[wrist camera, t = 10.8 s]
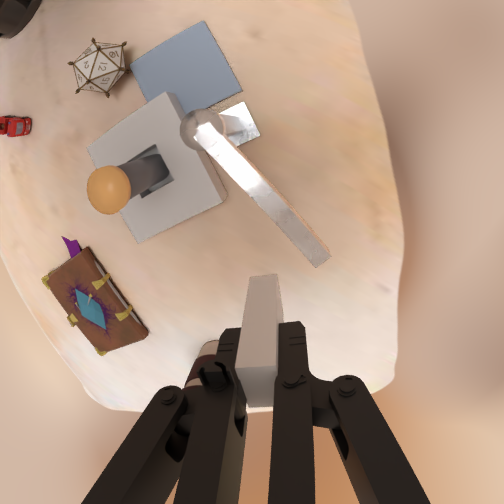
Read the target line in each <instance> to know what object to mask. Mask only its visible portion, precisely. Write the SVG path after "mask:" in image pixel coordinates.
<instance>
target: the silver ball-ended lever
mask: <svg viewBox="0 0 504 504" xmlns="http://www.w3.org/2000/svg"><path fill="white" fill-rule="evenodd" d="M225 132H226V125H225V122H224V119H223V118H222V116H221V115H220V114H219V113H217V112H215V111H213V110H209V109H195V110H192V111H191V112H189V113H188V114H187V115H186V116H185V117H184V118H183V120H182V122H181V124H180V136H181V139H182V141H183V142H184V144H185V145H186V146H187V147H189V148H190V149H193V150H196V151H204V150H206V151H207V152H208V153H209V154H210V155H211V156H212V157H213V158H214V159H215V160H216V161H217V162H218V163H219V164H220V165H221V166H222V167H223V168H224V170H225V171H226V172H227V173H228V174H229V175H230V176H231V177H232V178H233V179H234V180H235V181H236V182H237V183H238V184H239V185H240V186H241V187H242V188H243V189H244V190H245V191H246V193H247V194H248V195H249V196H250V197H251V198H252V199H253V200H254V201H255V202H256V203H257V204H258V205H259V206H260V207H261V209H262V210H263V211H264V212H265V213H266V214H267V215H268V216H269V217H270V218H271V219H272V220H273V221H274V223H275V224H276V225H277V226H278V227H279V228H280V229H281V230H282V231H283V232H284V233H285V235H286V236H287V237H288V238H289V239H290V240H291V241H292V242H293V243H294V244H295V246H296V247H297V248H298V249H299V250H300V251H301V252H302V253H303V254H304V256H305V257H306V258H307V259H308V260H309V261H310V262H311V263H312V265H313V266H314V267H315V268H317V267H318V266H319V265H321V264H322V263H323V262H325V261H326V260H327V259H329V258H330V257H331V254H330V252H329V249H328V248H327V246H326V245H325V244H324V243H323V242H322V240H321V239H320V238H319V237H318V236H317V235H316V233H315V232H314V231H313V230H312V229H311V228H310V226H309V225H308V224H307V223H306V222H305V221H304V219H303V218H302V217H301V216H300V215H299V214H298V213H297V211H296V210H295V209H294V208H293V207H292V206H291V205H290V203H289V202H288V201H287V200H286V199H285V198H284V197H283V196H282V195H281V193H280V192H279V191H278V190H277V189H276V188H275V187H274V186H273V185H272V183H271V182H270V181H269V180H268V179H267V178H266V177H265V176H264V175H263V174H262V173H261V172H260V170H259V169H258V168H257V167H256V166H255V165H254V164H253V163H252V162H251V161H250V160H249V159H248V158H247V157H246V156H245V155H244V153H243V152H242V151H241V150H240V149H239V148H238V147H237V146H236V145H235V144H234V143H233V142H232V141H231V140H230V139H229V138H228V137H227V136H226V135H225Z"/></svg>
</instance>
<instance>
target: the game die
mask: <svg viewBox="0 0 504 504" xmlns="http://www.w3.org/2000/svg"><path fill="white" fill-rule="evenodd" d="M91 41H92V42H93V44H92V45H91V46H90V47H89V48H88V49H87V50H86V51H85V52H84V53H83V54H82V55H81V56H80V57H79V58H78V59H77V60H76V61H75V62H74V63H73V62H71V61H70V62H69V63H68V64H69V65H73V67H74V71H75V75H76V79H77V83H78V87H79V89H77V90H76V93H79V92H80V90H89V91H97V92H104V93H106V96H107V97H108V98H109V93H108V91H109V90H110V89H111V88H112V87H113V85H114V84H115V83H116V82H117V81H118V80H119V79H120V77H121V76H122V75H123V74H124V73H125V72H126V73H127V74H128V73H130V71H129V70H126V68H125V61H124V53H123V46H125V45H126V43H127V41H126V42H124V43H122V45H115V44H107V43H97V42H95V39H94V38H92V40H91ZM76 93H75V94H76Z"/></svg>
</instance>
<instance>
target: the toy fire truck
mask: <svg viewBox="0 0 504 504" xmlns="http://www.w3.org/2000/svg"><path fill="white" fill-rule="evenodd" d="M30 126H31V119H30V118H28V117H22V118H19V117H15V116H10V115H9V116H2V117H0V134H2V135H4V134H7V136H8V137H16V136H22V135H28V134H29V131H30Z"/></svg>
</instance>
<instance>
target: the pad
mask: <svg viewBox="0 0 504 504" xmlns="http://www.w3.org/2000/svg"><path fill="white" fill-rule="evenodd" d="M129 66H130V68H131V70H132V72H133V74H134V76H135V78H136V80H137V82H138V84H139V87H140V89H141V91H142V93H143V95H144V97H145V99H146V101H147V103H148V102H149V101H151V100H153V99H154V98H156V97H157V96H159V95H160V94H162V93H164V92H165V91H166V92H170V93H175V95H176V97H177V99H178V101H179V103H180V105H181V107H182V109H183V110H184V112H185V114H186V115H187V114H188V113H189V112H191V111H192V110H195V109H206V108H208V107H210V106H212V105H214V104H216V103H218V102H220V101H222V100H224V99H226V98H228V97H230V96H232V95H234V94H236V93H239V92H241V91H242V89H241V87H240V85H239V83H238V81H237V79H236V77H235V75H234V74H233V72H232V70H231V68H230V66H229V64H228V63H227V61H226V59H225V57H224V55H223V53H222V52H221V50H220V48H219V46H218V45H217V43H216V41H215V39H214V37H213V36H212V34H211V32H210V31H209V29H208V27H207V25H206V24H205V22H204V21H201V22H199V23H197V24H195V25H193V26H192V27H190V28H188V29H186V30H184V31H182V32H180V33H179V34H177V35H175V36H173V37H172V38H170V39H168V40H167V41H165V42H163V43H162V44H160V45H158V46H157V47H155V48H154V49H152V50H150V51H149V52H147V53H146V54H144V55H143V56H141V57H140V58H138V59H137V60H135V61H134V62H133V63H131V64H130V65H129Z"/></svg>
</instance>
